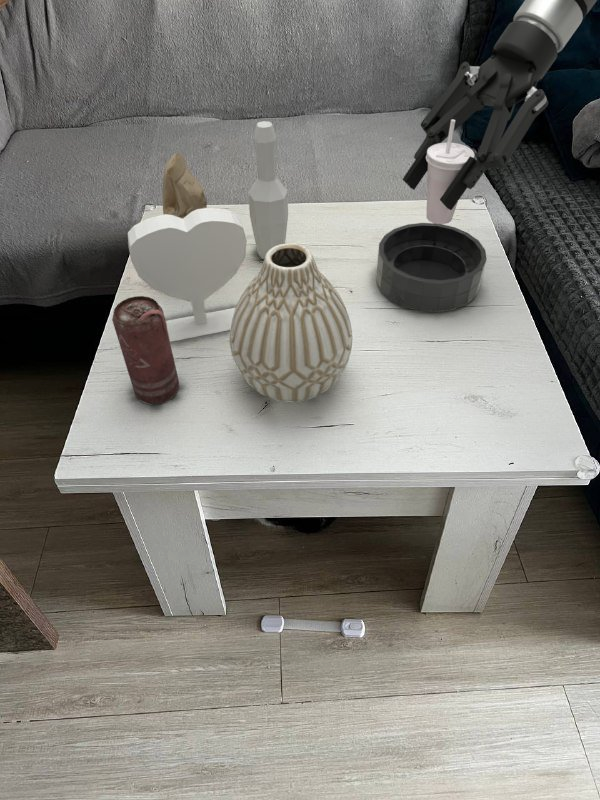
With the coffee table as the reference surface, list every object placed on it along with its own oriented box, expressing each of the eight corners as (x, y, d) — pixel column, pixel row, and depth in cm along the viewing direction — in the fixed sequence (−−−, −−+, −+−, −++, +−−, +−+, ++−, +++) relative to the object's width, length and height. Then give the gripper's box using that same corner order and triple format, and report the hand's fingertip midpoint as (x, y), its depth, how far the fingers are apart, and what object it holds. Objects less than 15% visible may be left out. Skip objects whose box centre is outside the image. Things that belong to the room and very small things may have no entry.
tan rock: (206, 299, 96) (187, 180, 81) (162, 295, 97) (136, 177, 82) (225, 254, 105) (212, 139, 90) (185, 250, 105) (165, 136, 91)
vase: (213, 370, 85) (193, 248, 70) (303, 326, 91) (302, 205, 77) (278, 440, 76) (271, 317, 61) (373, 386, 82) (387, 262, 68)
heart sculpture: (247, 305, 95) (237, 199, 82) (254, 325, 92) (245, 218, 78) (148, 324, 92) (121, 218, 79) (152, 345, 89) (125, 238, 75)
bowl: (497, 280, 99) (506, 248, 94) (440, 329, 91) (447, 297, 86) (414, 242, 106) (419, 212, 102) (355, 284, 98) (357, 253, 94)
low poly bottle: (287, 241, 107) (283, 114, 91) (291, 261, 103) (288, 132, 87) (251, 243, 107) (241, 116, 91) (254, 264, 102) (244, 134, 86)
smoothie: (408, 212, 89) (422, 114, 79) (445, 202, 91) (462, 106, 80) (432, 233, 85) (450, 133, 75) (470, 222, 87) (492, 124, 76)
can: (179, 405, 80) (161, 324, 70) (132, 407, 80) (106, 326, 70) (183, 373, 84) (166, 292, 74) (137, 375, 84) (114, 294, 74)
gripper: (605, 76, 75) (489, 235, 81) (486, 37, 86) (390, 180, 91) (595, 38, 69) (470, 212, 74) (468, 0, 80) (366, 155, 85)
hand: (426, 194), depth 83 cm, fingers closed on smoothie, 6 cm apart
